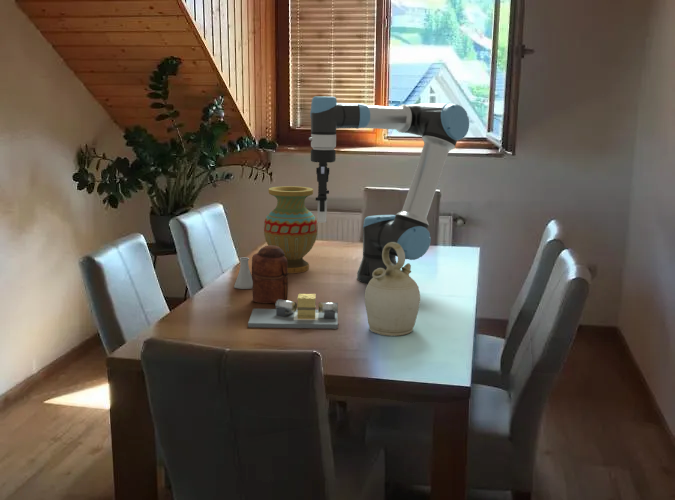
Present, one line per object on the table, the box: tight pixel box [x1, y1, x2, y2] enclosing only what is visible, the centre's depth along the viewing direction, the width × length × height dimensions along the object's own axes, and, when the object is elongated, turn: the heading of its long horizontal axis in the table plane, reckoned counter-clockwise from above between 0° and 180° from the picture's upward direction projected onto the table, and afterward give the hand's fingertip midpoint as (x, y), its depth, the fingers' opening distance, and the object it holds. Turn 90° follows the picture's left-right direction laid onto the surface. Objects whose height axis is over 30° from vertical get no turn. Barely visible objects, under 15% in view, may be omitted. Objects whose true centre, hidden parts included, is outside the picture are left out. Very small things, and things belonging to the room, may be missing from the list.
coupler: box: [297, 293, 317, 319], centre depth 208 cm, size 5×5×6 cm
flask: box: [233, 256, 253, 290], centre depth 243 cm, size 7×7×10 cm
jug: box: [364, 242, 421, 337], centre depth 200 cm, size 15×16×25 cm
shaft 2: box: [317, 302, 339, 319], centre depth 208 cm, size 6×4×4 cm
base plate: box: [247, 308, 339, 330], centre depth 209 cm, size 25×14×1 cm, turn 91°
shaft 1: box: [274, 299, 298, 317], centre depth 210 cm, size 6×4×4 cm
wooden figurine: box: [251, 244, 289, 305], centre depth 226 cm, size 12×6×18 cm, turn 84°
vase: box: [263, 185, 319, 274], centre depth 267 cm, size 20×20×30 cm
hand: (322, 218), depth 222 cm, fingers open, 13 cm apart
